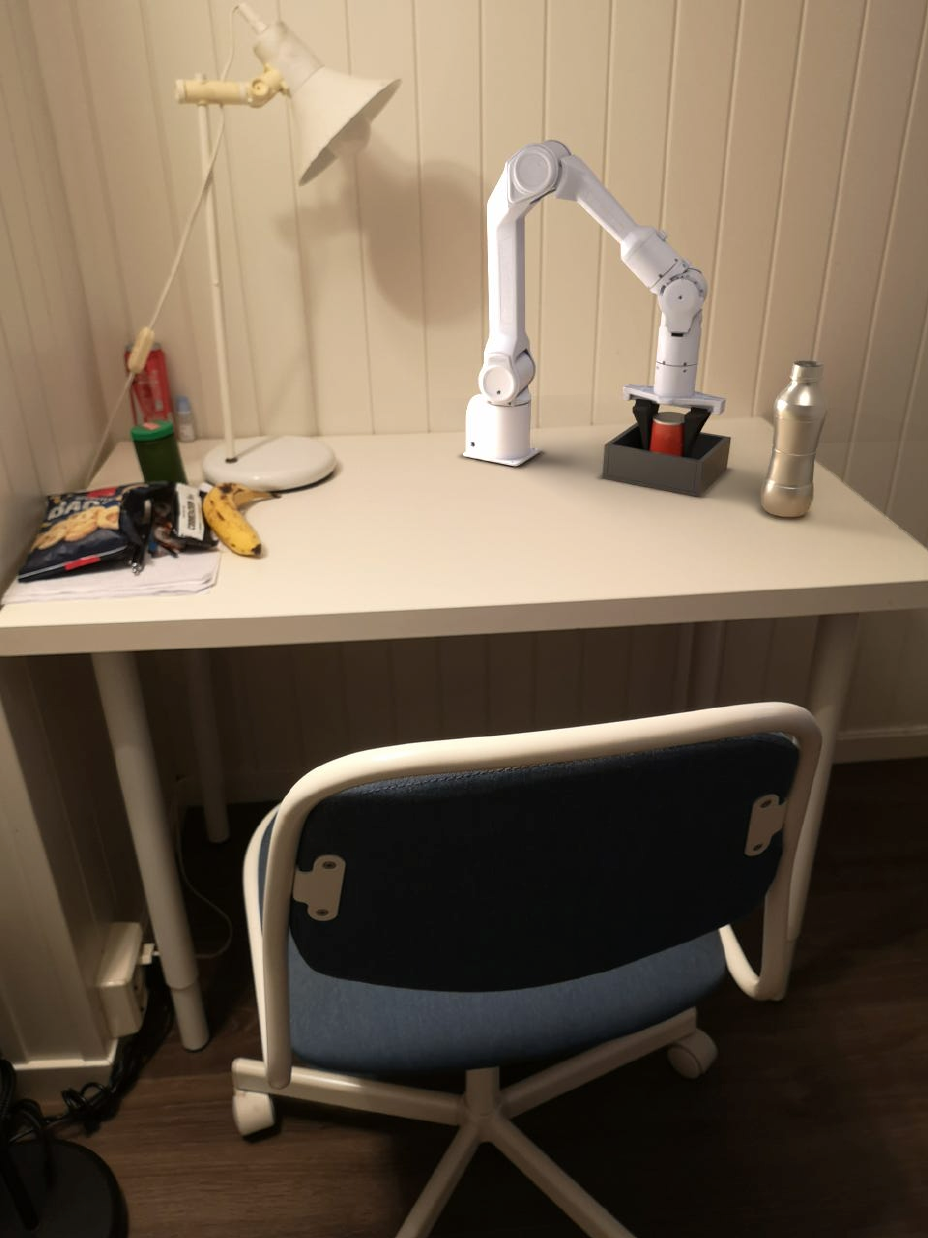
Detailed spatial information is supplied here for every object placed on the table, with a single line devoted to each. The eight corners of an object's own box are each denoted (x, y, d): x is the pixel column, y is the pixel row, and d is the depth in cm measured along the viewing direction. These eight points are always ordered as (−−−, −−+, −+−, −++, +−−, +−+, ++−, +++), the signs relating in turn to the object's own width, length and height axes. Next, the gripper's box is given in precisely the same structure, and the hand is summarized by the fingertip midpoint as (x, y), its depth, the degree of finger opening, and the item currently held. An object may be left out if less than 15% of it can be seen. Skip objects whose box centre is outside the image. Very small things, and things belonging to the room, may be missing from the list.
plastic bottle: (812, 524, 128) (840, 371, 118) (758, 520, 129) (782, 369, 119) (807, 505, 133) (834, 358, 123) (756, 502, 134) (778, 356, 125)
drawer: (602, 477, 143) (604, 444, 140) (635, 453, 152) (637, 421, 150) (698, 497, 136) (703, 462, 134) (726, 469, 146) (731, 436, 143)
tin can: (642, 472, 143) (647, 419, 139) (655, 461, 147) (660, 409, 143) (676, 478, 141) (682, 425, 137) (689, 467, 145) (695, 415, 141)
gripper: (617, 360, 136) (610, 454, 143) (718, 374, 130) (706, 471, 136) (636, 350, 142) (629, 440, 148) (734, 363, 135) (722, 456, 142)
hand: (667, 454), depth 143 cm, fingers closed on tin can, 5 cm apart
